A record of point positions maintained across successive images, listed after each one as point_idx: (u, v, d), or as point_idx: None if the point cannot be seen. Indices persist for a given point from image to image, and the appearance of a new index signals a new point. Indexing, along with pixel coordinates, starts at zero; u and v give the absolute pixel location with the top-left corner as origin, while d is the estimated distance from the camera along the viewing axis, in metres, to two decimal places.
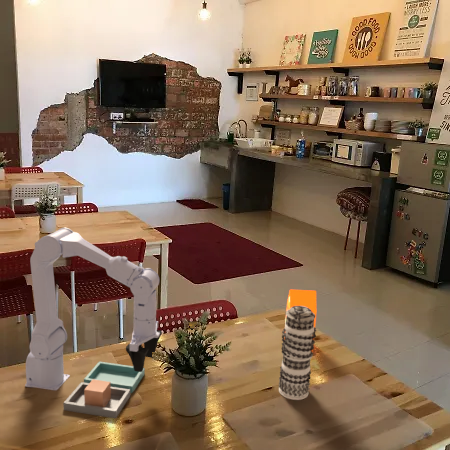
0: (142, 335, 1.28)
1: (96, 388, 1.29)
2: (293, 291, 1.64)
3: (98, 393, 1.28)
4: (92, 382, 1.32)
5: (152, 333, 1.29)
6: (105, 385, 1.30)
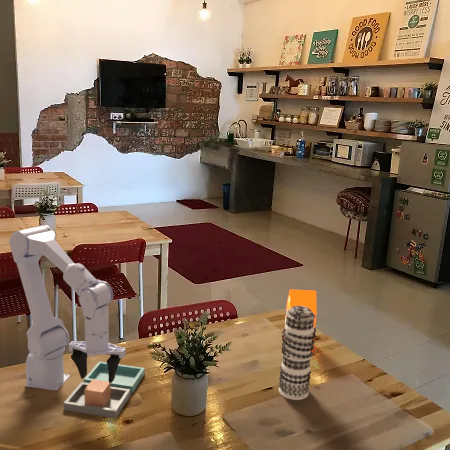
0: None
1: (96, 388, 1.29)
2: (293, 291, 1.64)
3: (98, 393, 1.28)
4: (92, 382, 1.32)
5: (88, 348, 1.25)
6: (105, 385, 1.30)
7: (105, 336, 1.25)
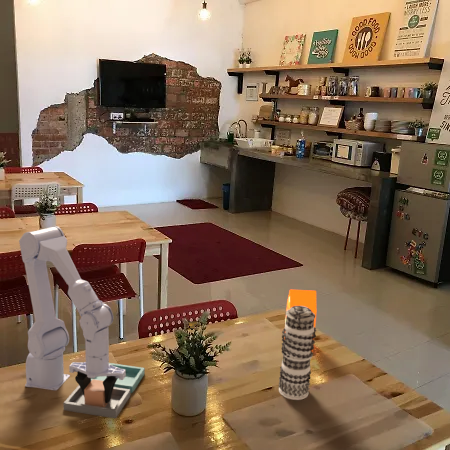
0: None
1: (96, 388, 1.29)
2: (293, 291, 1.64)
3: (98, 393, 1.28)
4: (92, 382, 1.32)
5: (88, 370, 1.27)
6: None
7: (105, 358, 1.27)
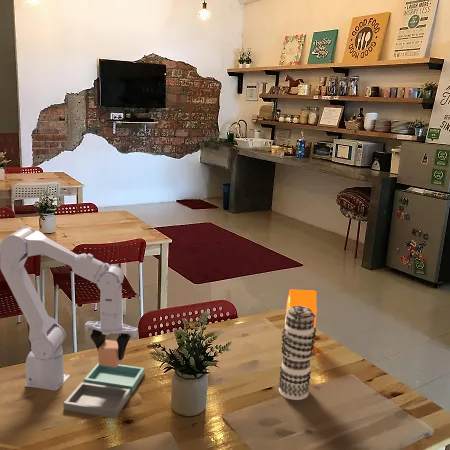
0: None
1: (109, 347, 1.36)
2: (293, 291, 1.64)
3: (112, 352, 1.34)
4: (105, 342, 1.38)
5: (103, 327, 1.34)
6: None
7: (119, 317, 1.34)
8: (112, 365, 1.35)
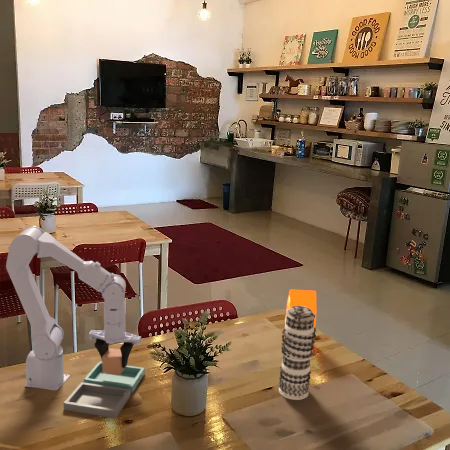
0: None
1: (113, 355, 1.39)
2: (293, 291, 1.64)
3: (115, 360, 1.38)
4: (109, 350, 1.41)
5: (107, 336, 1.37)
6: None
7: (122, 326, 1.37)
8: (116, 373, 1.39)
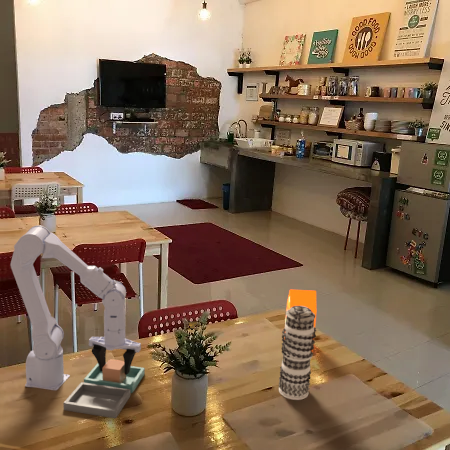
0: None
1: (113, 366, 1.40)
2: (293, 291, 1.64)
3: (115, 371, 1.38)
4: (109, 361, 1.42)
5: (107, 343, 1.37)
6: (121, 364, 1.41)
7: (122, 332, 1.37)
8: None
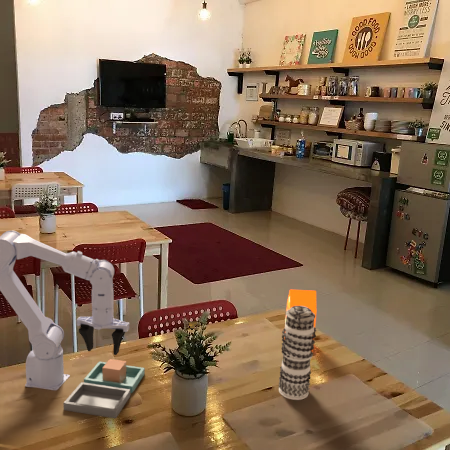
0: None
1: (113, 366, 1.40)
2: (293, 291, 1.64)
3: (115, 371, 1.38)
4: (109, 361, 1.42)
5: (95, 322, 1.35)
6: (121, 364, 1.41)
7: (110, 312, 1.36)
8: None
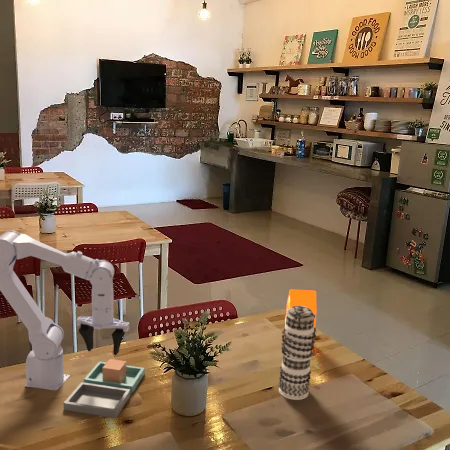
0: None
1: (113, 366, 1.40)
2: (293, 291, 1.64)
3: (115, 371, 1.38)
4: (109, 361, 1.42)
5: (95, 322, 1.35)
6: (121, 364, 1.41)
7: (110, 312, 1.36)
8: None
